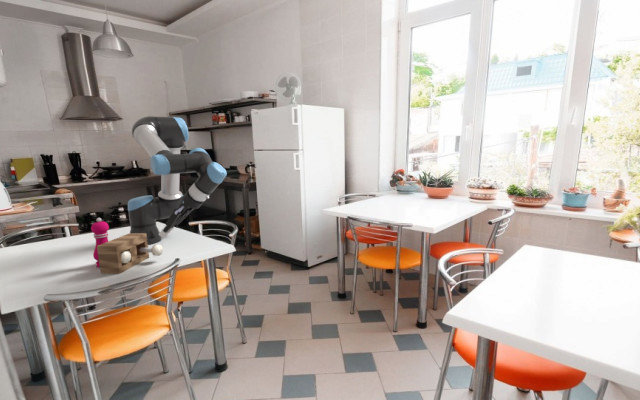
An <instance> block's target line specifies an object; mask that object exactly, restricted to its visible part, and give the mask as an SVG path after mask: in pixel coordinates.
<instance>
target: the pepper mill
mask: <svg viewBox="0 0 640 400" xmlns="http://www.w3.org/2000/svg"><path fill="white" fill-rule="evenodd" d="M95 221H96V222H93V223H92V224H91V227H90V229H91V230H90V231H91V232H92V233H93V238H94V239H95V247H94V250H93V255H92V256H93V259H94V260H95V261H96V262H95V266H96V267H97V268H100V264H99V258H98V251H97V246H98V245H101V244H103V243H106V242H109V232H108V231H109V230H110V226H109V224H108V223H107V222H106V221H104V220H103V221H102V218H101V217H97V218H96V220H95Z"/></svg>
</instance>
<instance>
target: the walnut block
mask: <svg viewBox="0 0 640 400" xmlns="http://www.w3.org/2000/svg"><path fill="white" fill-rule="evenodd" d="M140 248H149V245H148V243H147V235H146V233H130V232H129V233H126V234H124V235H122V236H119V237H117V238H114V239H112V240H108V242H106V243H103V244H101V245H98V246H97V251H98V258H99V264H100V267H99V270H100V274H111V275H112V274H117V275H120V274H122V273H124V272H126V271H127V270H129V269H131V268H133V267H135V266H137V265H139V264H140V263H143V262H144V261H146V260H148V259H149V258H150V252H140ZM123 251H128V252H130V254H131V259H130V261H129V262H128V263H122V261H121V254H120V253H121V252H123Z"/></svg>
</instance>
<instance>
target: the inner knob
mask: <svg viewBox="0 0 640 400" xmlns="http://www.w3.org/2000/svg"><path fill="white" fill-rule="evenodd" d="M163 249H164V248H163V245H162V244H154V245H152V247H148V248H140V252H149V253H151V254H152V256H153V257H154V256H155V257H157V256H161V255H162V254H163V251H164V250H163Z"/></svg>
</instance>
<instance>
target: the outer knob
mask: <svg viewBox="0 0 640 400" xmlns="http://www.w3.org/2000/svg"><path fill="white" fill-rule="evenodd" d="M120 254H121V261H122V263H128V262H129V261H130V259H131V254H130V252H128V251H123V252H121V253H120Z"/></svg>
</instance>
